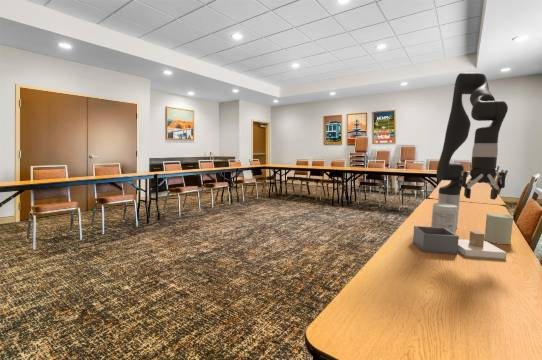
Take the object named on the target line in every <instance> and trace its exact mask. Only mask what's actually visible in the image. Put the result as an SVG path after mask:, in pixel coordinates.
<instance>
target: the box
mask: <svg viewBox="0 0 542 360" xmlns="http://www.w3.org/2000/svg"><path fill="white" fill-rule="evenodd" d="M412 237H413V238H412V242H413V244H414V245H415V246H416V247H417V249H419V250H420V251H421V252H422V253H430V254H431V253H432V254H434V253H435V254H446V255H458V239H459V238H460V236H459V235H457V233H455V234H454V233H453V232H451V231H449V230H448V229H446V228H439V227H431V226H423V225H422V226H419V225H414V226H413V236H412Z"/></svg>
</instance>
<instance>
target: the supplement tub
mask: <svg viewBox="0 0 542 360" xmlns="http://www.w3.org/2000/svg"><path fill="white" fill-rule="evenodd" d="M431 212H432V213H431V226H430V227H439V228H446V229H448V230H449V231H451V232H453V233H454V234H456V219H457V206H456V205H453V204H446V203H438V202H435V203H433V204H432V211H431Z"/></svg>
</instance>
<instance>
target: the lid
mask: <svg viewBox="0 0 542 360" xmlns="http://www.w3.org/2000/svg"><path fill="white" fill-rule="evenodd" d="M484 237H485V233H483V232H481V231H479V230H476V231H475V230H469V239H458V251H459V252H458V251H457V252H458V253H460V252H461V253H462V254H464V255H465V256H479V257H492V258H505V259H506V260H507V252H506V251H505V250H502V249H501V248H499V247H497V246H496V245H494V244H493V243H491V242H488V241H485V240H484ZM461 253H460V254H461ZM462 254H461V255H462ZM464 255H463V256H464ZM465 256H464V257H465Z"/></svg>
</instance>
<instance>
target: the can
mask: <svg viewBox="0 0 542 360" xmlns="http://www.w3.org/2000/svg"><path fill="white" fill-rule="evenodd" d="M513 222H514V216H513V215H510V214H509V215H508V214H504V213H499V212H498V213H497V212H491V213H490V212H489V213H486V219H485V229H484V241H485V240H486V241H487V242H488V241H489V242H488V243H491V242H492V243H491V244H495V243H497V245H502V244H509V245H511V244H512V233H513V232H512V231H513ZM510 243H511V244H510Z"/></svg>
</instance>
